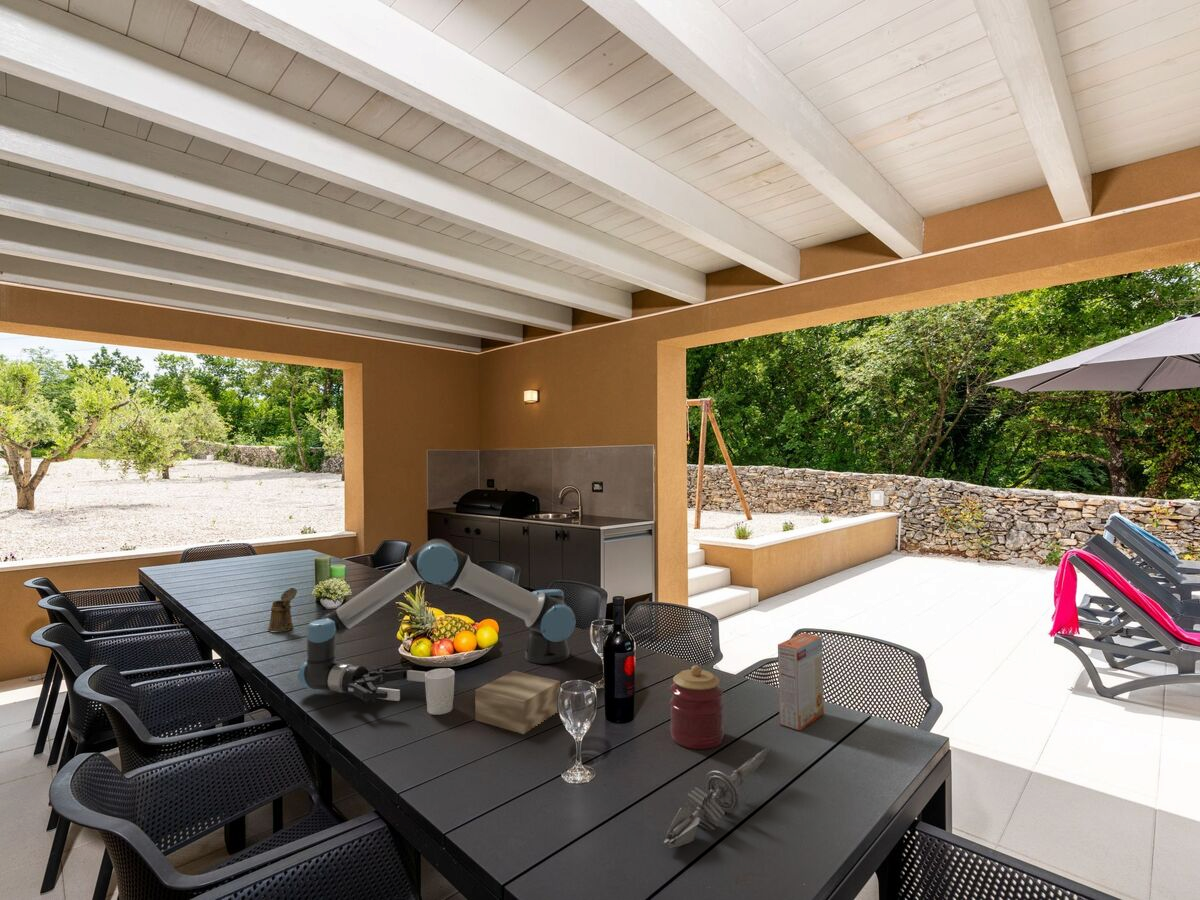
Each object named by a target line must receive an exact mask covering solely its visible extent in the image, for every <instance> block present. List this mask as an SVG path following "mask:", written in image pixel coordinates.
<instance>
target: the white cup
mask: <svg viewBox="0 0 1200 900" xmlns="http://www.w3.org/2000/svg"><path fill="white" fill-rule="evenodd" d="M426 672H427V673H426V674H425V682H424V684H425V685H424V687H425V698H426V699H425V700H426V710H427V711H426V712H427V713H428V714H429V715H433V716H437V715H438V716H439V715H445V714H447V713H450V712H451V711H452V710H453V706H454V705H453V702H454V695H455V693H454V692H455V675H456V674H455V670H454V669H451V668H448V667H447V668H446V667H445V668H443V667H442V668H434V669H431V670H428V671H426Z"/></svg>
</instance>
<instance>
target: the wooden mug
mask: <svg viewBox="0 0 1200 900" xmlns="http://www.w3.org/2000/svg"><path fill="white" fill-rule="evenodd" d="M297 591H298V589H296V588H293V587H290V588H289V589H286V590H285V591H284V592H283V593H282V594H281V595H280V600H275V601H273V602H272V605H271V607H270V610H271V612H270V617H269V618H270V619H269V626H268V628H267V631H268V630H269V631H284V630H288V629H291V628H292V629H293V628H294V623H293V622H292V621H293V620H292V614H291V613H292V611H291V609H292V607H291V601H292V600H293V599H294V598H295V597H296V595H297V593H298V592H297ZM292 629H291V630H292ZM288 631H289V630H288ZM284 632H285V631H284Z"/></svg>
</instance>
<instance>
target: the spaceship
mask: <svg viewBox="0 0 1200 900" xmlns="http://www.w3.org/2000/svg"><path fill="white" fill-rule="evenodd" d="M769 751H770V749H769V748H767V747H766V748H764V749H763V750H762V751H759V752H757V753H756V754H755V756H753V757H751V758H749V759H748V760H747V761H745V762H743V764H741V765H740V766H739V767H737V769H735V770H733V771H731V774H730V775H727V774H726V773H724V772H722V771H720V770H711V771H709V772H708V773H706V776H705V779H704V786H705V790H706V791H705V792H704V791H703V790H702V789H700V788H698V787H697V786H695V787H694V790H693V789H692V790H690V792H691V793H692V794H691V793H690V792H689V793H687V796H689V797H690V798H688V801H689V803H688V801H685V802H684V804H685V806H687V808H686V807H680V808H679V810H678V811H677V814H676V815H675V817H674V819H673V820H672V823H670V825H669V829H668V831H667V833H666V835H665V839H664V841H663V844H667V848H669V849H671V848H672V849H673V848H674V847H675V848H678V847H681V846H684V845H686V844H689V843H691V842H690V841H692V840H693V841H694V839H695V838H694V837H695V834H696V831H697V826H699V824H700V821H701V823H702V824H704V825H706V826H707V827H708V828H710V829H711V830H713V831H714V830H715V829H716V828H715V827H718V826H719V824H721V823H722V820H721V818H722V815H725V813H726V812H727V814H734V813H736V812H737V811H738V810H739V809H740V806H741V795H740V792H739V789H738V786H741V785H743V784H744V783H745V781H744V780H745V779H746V778H748V777H749V776H750V775H752V773H753V772H755V770H757V768H758V767H759V766H760V764H762V763H763V762H764V760H766V758H767V756H768V754H769ZM716 782H717V784H718V785H717V784H716ZM721 783H722V784H721ZM695 790H696V791H695ZM698 792H699V793H698ZM693 794H694V795H693ZM728 794H730V795H728ZM697 797H698V798H697ZM693 800H694V801H693ZM728 800H730V801H728ZM691 805H692V806H693V807H692V806H691ZM717 810H718V811H717ZM724 811H725V812H724ZM719 812H720V813H721V814H722V815H721V814H720V813H719ZM714 813H715V814H716V815H717V817H716V815H715V814H714ZM710 817H711V818H710ZM718 823H719V824H718ZM713 825H714V826H713ZM693 841H692V842H693Z"/></svg>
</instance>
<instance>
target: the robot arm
mask: <svg viewBox="0 0 1200 900" xmlns="http://www.w3.org/2000/svg"><path fill="white" fill-rule="evenodd" d="M425 581H426V582H428V583H430V584H434V585H440V586H442V587H444V588H446V589H449V590H450V591H451V590H453V589H457V588H458V589H460V590H463V592H466V593H468V594H470V595H472V596H474V597H476V598H477V599H478V598H479V599H480V600H482V601H485V602H487V603H489V604H491V605H493V606H495V607H497V608H499V609H501V610H503V611H505V612H508V613H510V614H512V615H514V616H515V617H518V618H519V619H521V620H523V621H524V623H525V626H526V628H529V629H530V630H529V631H530V633H529V638H528V642H527V644H526V648H525V650H524V651H525V653H524V654H525V660H526V661H528V662H530V663H534V664H542V665H551V664H556V663H557V664H558V663H560V662H564V661H566V660H567V659H568V658H569V657H570V648H569V646H568V642H567V639H568V638H569V637H570V636H571V635H572V633H573V632H574V630H575V627H576V623H577V621H576V620H577V619H576V615H575V613H574V611H573V610H572V608H571V607H570V606H568V605H567V603H566V602H565V601H564V600H565V595H564V591H563V590H561V589H557V588H556V589H551V588H550V589H539V590H534V591H532V592H531V591H529V590H528V589H525V588H523V587H521V586H519V585H518V584H516V583H513V582H511V581H509V580H508V579H506V578H503V577H501V576H499V575H497V574H496V573H493V572H492V571H489V570H487V569H486V568H483V567H481V566H479V565H477V564H475V563H473V562H472V561H471V558H470V555H469V554H466V553H464V552H462V551H460V550H459V549H457V548H455V547H453V545H452V543H450V542H449V541H447V540H445V539H442V538H433V539H430V540H428V541H426V542H425V543H424V544H422V545H421V546H420V547H419V548H418V549H416V551H414V552H413V553H411V554H410V555H408V556H407V557H406V561H405V562H404V563H402V564H401V565H399V566H397V568H394V569H393V570H392V571H391V572H389V573H387V574H386V575H384V576H383V577H381V578H380V579H378V580H377V581H376V582H375V583H373V584H371V585H370V586H368V587H367V588H365V589H364V590H363V591H361V592H360V593H358V594H357V595H355V596H354V597H352V598H351V599H349V600H348V601H347V602H345V603H343V604H342V605H340V606H339V607H337V608H336V609H335V610H333V611H331V613H328V614H327V613H326V614H325V615H323V616H322V617H321V618H319V619H317V620H313V621H311V622H310V623H309V622H308V625H307V633H306V643H307V644H306V647H307V649H306V651H307V653H306V655H307V656H306V657H307V658H306V661H305V662H303V663H302V665H300V667H299V672H298V673H297V681H298V683H299V685H300V686H301V687H304V688H306V689H307V688H308V689H311V690H323V691H331V692H339V694H342V693H347V694H348V695H353V696H355V697H357V698H359V699H360V700H362V701H364V702H366V703H368V702H370V701H371V703H376V702H377V700H378V699H381V700H387V701H395V702H396V701H397V702H399V701H400V700H401V689H395V688H390V687H389V688H387V687H379V686H381V685H385V684H386V682H394V681H395V682H396V681H402V680H405V679H406V681H410V682H421V683H425V674H426V673H427V672H428V671H421V670H413V669H412V666H403V667H402V666H399V667H386V668H384V667H383V668H382V667H377V668H376V671H375V670H373V671H369V670H368V668H367V667H366V666H364V665H359V664H358V665H356V664H349V663H338V662H336V644H337V643H336V642H337V640H338V639H339V637H341V636H342V635H343V634H345V633H346V632H347V631H349V630H350V629H351V628H353V627H354V626H356V625H357V624H359V623H360V622H361V621H363V620H365V619H366V618H367V617H369V616H370V615H372V614H374V613H375V612H376V611H378V610H379V609H381V608H382V607H383V606H385V605H386V604H388V603H390V602H391V601H392V600H393V599H395V598H396V597H398V596H399V595H401V594H402V593H404V592H405V591H407V590H408V589H409V588H411V587H413V586H414V585H415V584H418V582H425ZM376 686H378V687H377V688H376Z"/></svg>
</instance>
